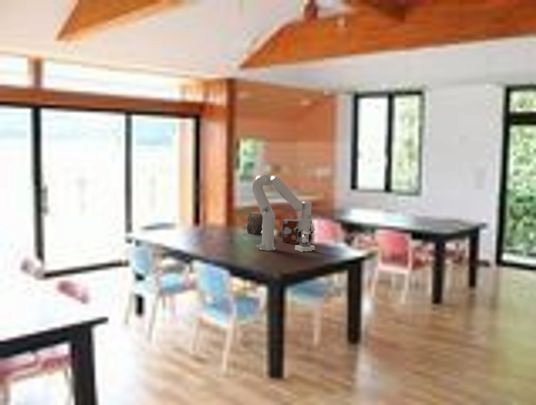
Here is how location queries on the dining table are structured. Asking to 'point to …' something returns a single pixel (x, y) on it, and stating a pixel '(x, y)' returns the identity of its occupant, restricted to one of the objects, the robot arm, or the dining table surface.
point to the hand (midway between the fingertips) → (304, 238)
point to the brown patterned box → (290, 231)
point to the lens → (304, 238)
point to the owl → (254, 223)
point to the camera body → (304, 247)
